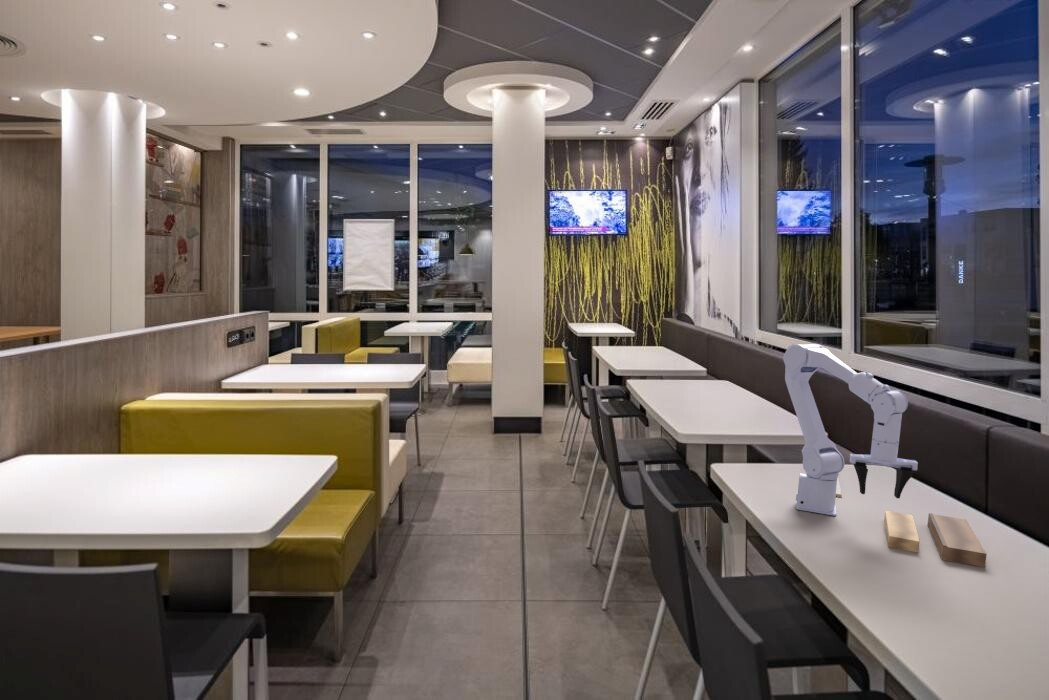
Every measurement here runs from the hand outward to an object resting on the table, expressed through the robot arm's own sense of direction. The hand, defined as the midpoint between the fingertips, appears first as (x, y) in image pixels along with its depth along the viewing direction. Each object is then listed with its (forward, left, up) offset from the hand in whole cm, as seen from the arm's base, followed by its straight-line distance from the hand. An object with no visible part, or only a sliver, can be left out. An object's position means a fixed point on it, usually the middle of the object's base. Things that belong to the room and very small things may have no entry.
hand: (879, 495), depth 164 cm
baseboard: (-13, +38, -9) cm, 42 cm away
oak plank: (+5, -2, -9) cm, 10 cm away
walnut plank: (+16, -2, -9) cm, 18 cm away
